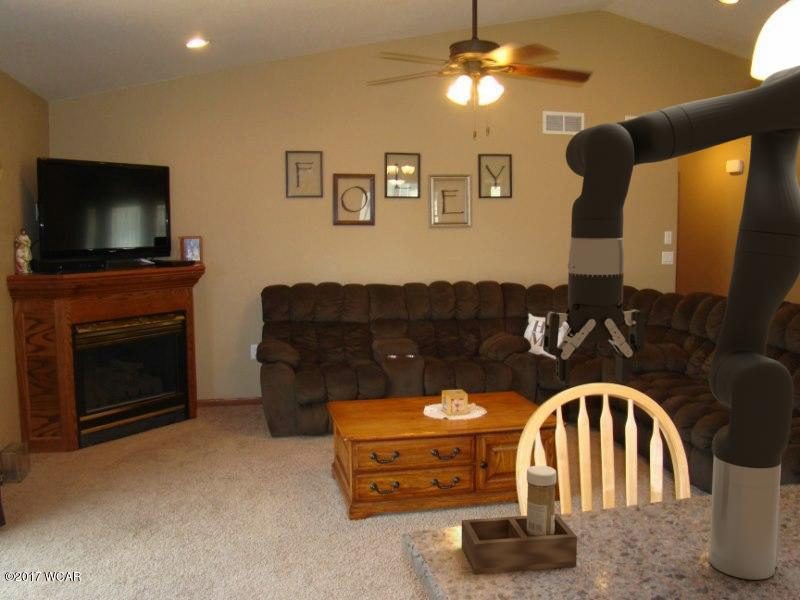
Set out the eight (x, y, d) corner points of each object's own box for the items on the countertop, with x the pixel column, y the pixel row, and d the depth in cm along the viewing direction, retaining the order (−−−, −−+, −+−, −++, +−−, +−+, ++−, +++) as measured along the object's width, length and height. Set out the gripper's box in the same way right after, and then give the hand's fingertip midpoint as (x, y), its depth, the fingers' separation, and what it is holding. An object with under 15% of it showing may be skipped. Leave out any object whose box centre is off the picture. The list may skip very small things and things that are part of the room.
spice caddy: (556, 541, 118) (556, 513, 117) (576, 566, 109) (577, 536, 109) (461, 548, 116) (461, 520, 115) (474, 574, 107) (474, 544, 107)
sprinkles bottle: (560, 552, 112) (562, 470, 111) (539, 559, 110) (541, 476, 108) (539, 541, 116) (541, 462, 114) (519, 548, 114) (520, 467, 112)
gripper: (557, 273, 95) (554, 391, 97) (656, 271, 97) (652, 387, 99) (538, 269, 102) (536, 378, 104) (631, 267, 104) (627, 375, 106)
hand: (592, 382), depth 101 cm, fingers open, 8 cm apart
